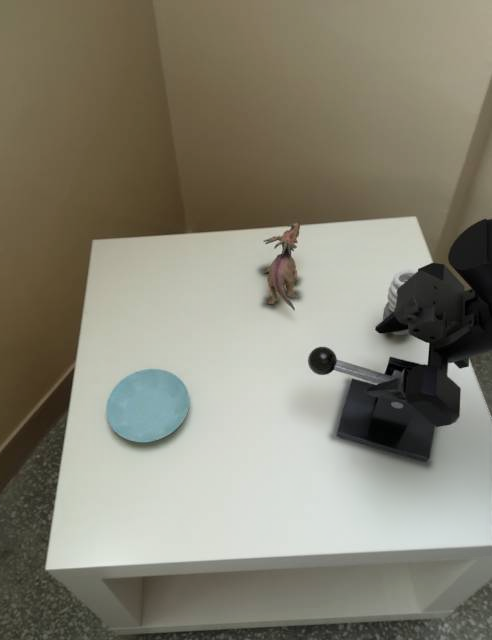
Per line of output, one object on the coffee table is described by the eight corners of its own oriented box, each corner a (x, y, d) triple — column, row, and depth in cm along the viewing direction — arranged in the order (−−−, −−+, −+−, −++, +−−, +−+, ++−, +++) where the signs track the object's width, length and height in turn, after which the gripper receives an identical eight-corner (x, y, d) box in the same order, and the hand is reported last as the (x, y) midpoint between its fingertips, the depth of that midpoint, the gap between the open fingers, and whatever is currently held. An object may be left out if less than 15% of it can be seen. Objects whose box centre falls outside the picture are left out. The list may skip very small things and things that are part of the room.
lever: (302, 375, 68) (306, 360, 65) (310, 353, 70) (314, 337, 67) (405, 407, 65) (415, 393, 62) (410, 383, 67) (419, 369, 64)
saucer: (94, 429, 75) (89, 422, 73) (136, 365, 81) (133, 357, 79) (165, 461, 72) (163, 455, 70) (205, 392, 77) (203, 384, 76)
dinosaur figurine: (263, 257, 92) (263, 215, 84) (298, 257, 91) (300, 215, 83) (261, 319, 84) (261, 280, 76) (299, 320, 84) (302, 280, 76)
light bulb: (410, 315, 83) (429, 260, 73) (420, 344, 79) (442, 291, 70) (373, 318, 83) (388, 264, 73) (382, 348, 80) (398, 295, 70)
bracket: (336, 436, 72) (346, 394, 63) (351, 382, 77) (362, 336, 67) (426, 462, 69) (451, 423, 60) (436, 405, 74) (461, 360, 64)
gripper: (463, 204, 54) (341, 265, 65) (456, 351, 44) (315, 392, 56) (516, 269, 59) (395, 315, 70) (521, 414, 49) (379, 440, 60)
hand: (372, 360), depth 64 cm, fingers open, 9 cm apart
